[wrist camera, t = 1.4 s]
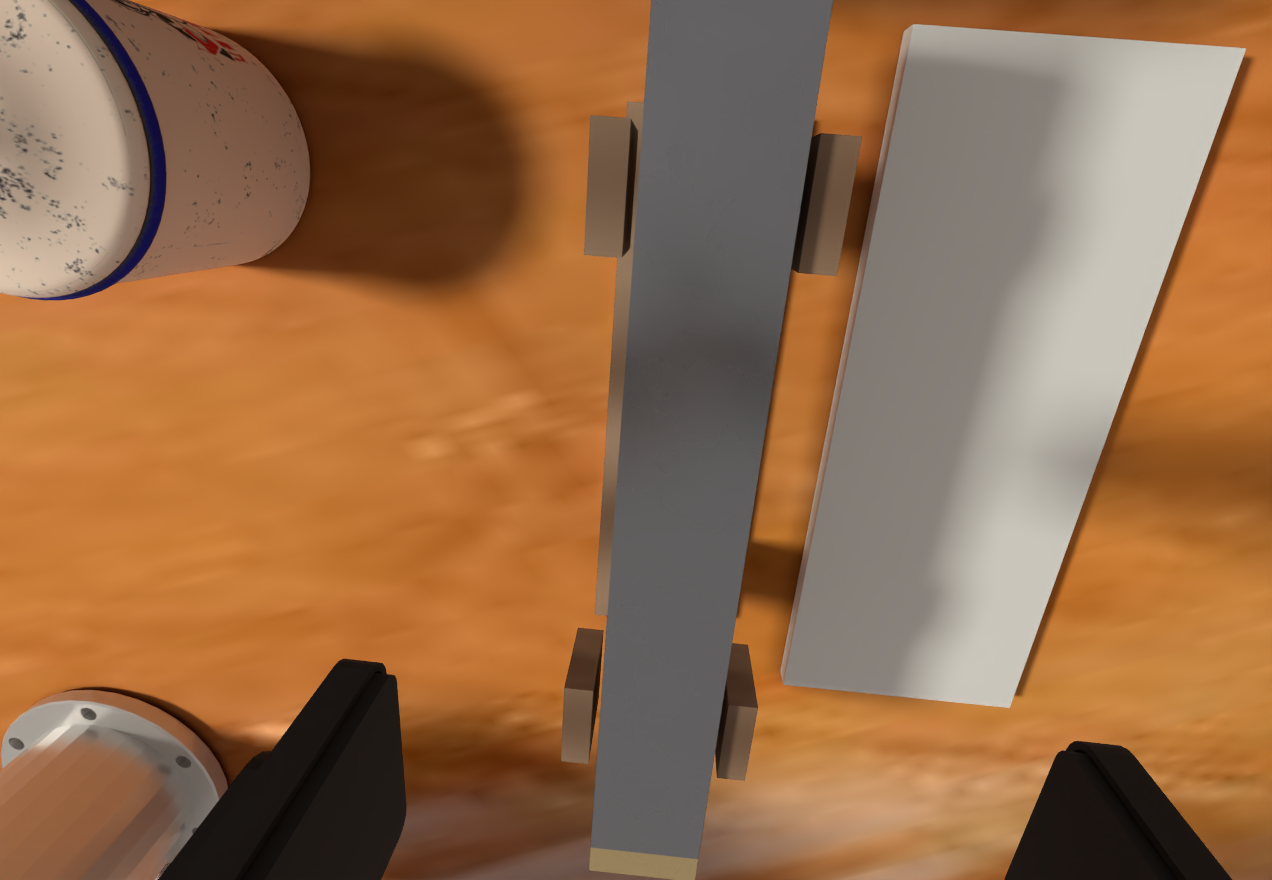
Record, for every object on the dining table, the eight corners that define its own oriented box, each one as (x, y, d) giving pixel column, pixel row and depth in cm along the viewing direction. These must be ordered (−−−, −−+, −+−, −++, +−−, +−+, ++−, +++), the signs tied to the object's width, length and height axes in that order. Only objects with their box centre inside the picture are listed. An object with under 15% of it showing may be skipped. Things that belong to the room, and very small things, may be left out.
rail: (692, 790, 25) (694, 882, 22) (600, 781, 25) (588, 870, 22) (812, -44, 16) (850, -110, 12) (664, -55, 16) (660, -123, 12)
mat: (1000, 693, 32) (1009, 708, 31) (780, 670, 33) (783, 684, 32) (1222, 54, 22) (1246, 48, 22) (903, 30, 23) (913, 23, 22)
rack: (718, 614, 32) (738, 814, 21) (597, 602, 32) (559, 795, 22) (790, 118, 24) (876, 58, 14) (629, 105, 24) (593, 37, 14)
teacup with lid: (289, 8, 24) (-41, -153, 13) (343, 264, 27) (115, 310, 16) (-13, 34, 25) (-562, -95, 14) (74, 279, 28) (-315, 332, 17)
